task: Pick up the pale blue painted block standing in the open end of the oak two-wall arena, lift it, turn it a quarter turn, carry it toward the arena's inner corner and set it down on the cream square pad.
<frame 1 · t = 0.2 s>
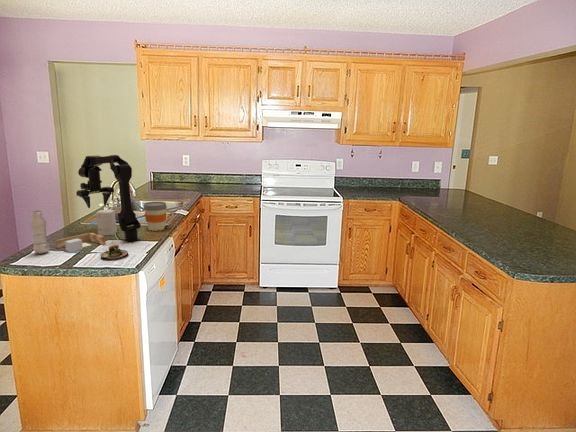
hand: (97, 206, 220), 15 cm above the worktop, tool pointing down, fingers open, 9 cm apart
plastic bottle: (42, 253, 187), on the worktop
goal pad: (82, 245, 200), on the worktop
reusable coffee cup: (156, 229, 233), on the worktop
block: (74, 250, 192), on the worktop
small box: (107, 234, 220), on the worktop
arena: (131, 240, 209), on the worktop
burger: (114, 257, 185), on the worktop
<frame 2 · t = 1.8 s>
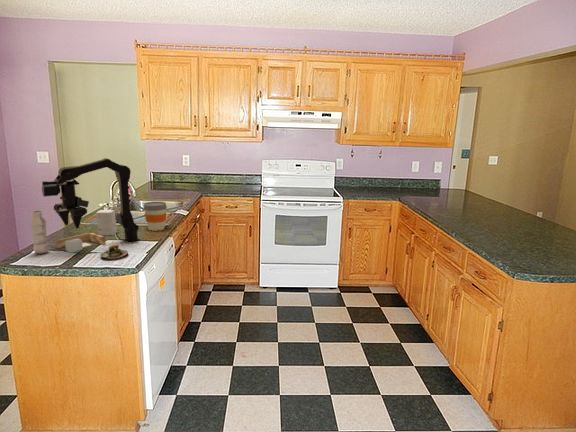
hand: (72, 226, 189), 12 cm above the worktop, tool pointing down, fingers open, 9 cm apart
nothing on the worktop moved.
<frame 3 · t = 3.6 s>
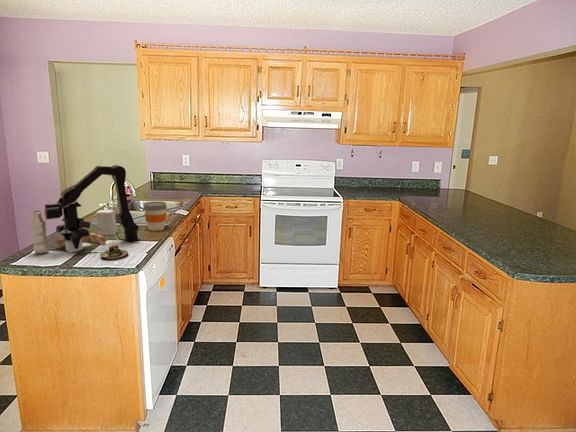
hand: (74, 247, 192), 1 cm above the worktop, tool pointing down, fingers closed on block, 4 cm apart
block: (74, 250, 192), on the worktop, touching gripper
everything else where it was.
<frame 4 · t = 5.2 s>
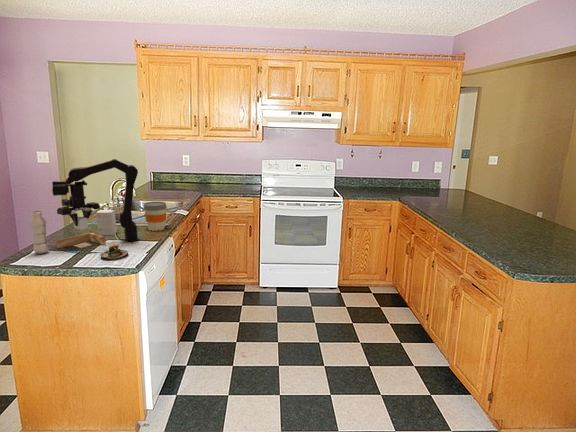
hand: (80, 225, 197), 10 cm above the worktop, tool pointing down, fingers closed on block, 4 cm apart
block: (81, 227, 197), point 9 cm above the worktop, touching gripper
everything else where it was.
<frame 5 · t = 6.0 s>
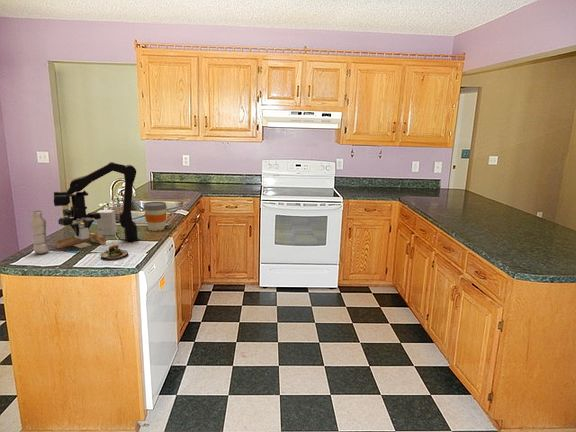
hand: (82, 235, 198), 5 cm above the worktop, tool pointing down, fingers closed on block, 4 cm apart
block: (82, 237, 199), point 4 cm above the worktop, touching gripper
everything else where it was.
when the fingers open (3 cm above the worktop, at t = 6.8 s): block drops 1 cm, resting on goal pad.
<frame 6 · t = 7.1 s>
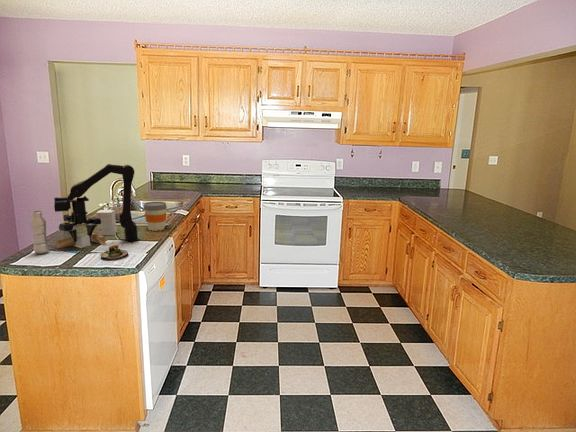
hand: (82, 240, 199), 3 cm above the worktop, tool pointing down, fingers open, 7 cm apart
block: (82, 245, 200), resting on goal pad
everything else where it was.
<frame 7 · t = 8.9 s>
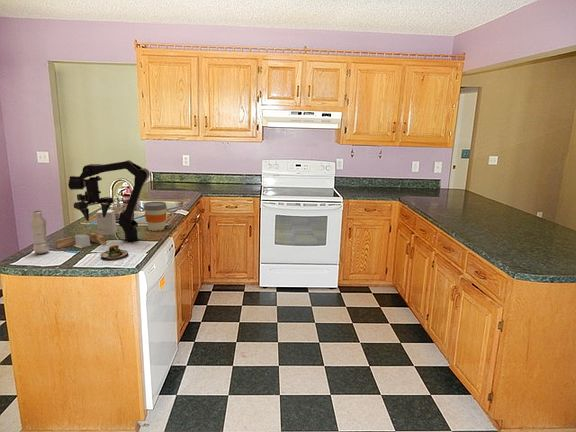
hand: (95, 219, 205), 12 cm above the worktop, tool pointing down, fingers open, 9 cm apart
nothing on the worktop moved.
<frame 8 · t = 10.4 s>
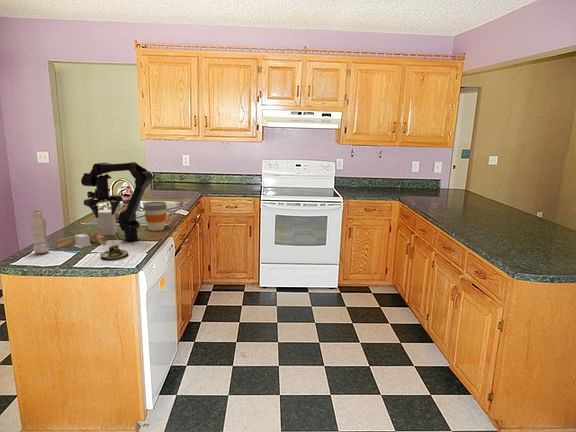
hand: (104, 216, 210), 12 cm above the worktop, tool pointing down, fingers open, 9 cm apart
nothing on the worktop moved.
at the end: block 0.0 cm from the target spot, resting on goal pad; block tilted 0°; the gripper is holding nothing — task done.
